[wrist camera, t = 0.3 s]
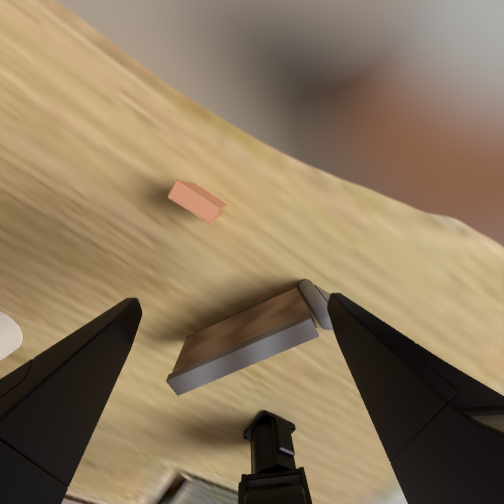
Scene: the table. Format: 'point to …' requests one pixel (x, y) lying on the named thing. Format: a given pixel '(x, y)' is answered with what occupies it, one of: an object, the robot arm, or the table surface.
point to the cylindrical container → (9, 335)
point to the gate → (242, 341)
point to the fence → (211, 209)
